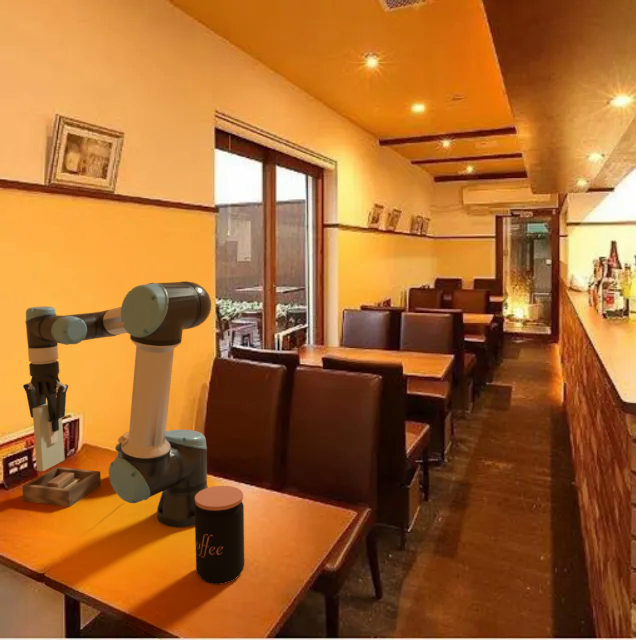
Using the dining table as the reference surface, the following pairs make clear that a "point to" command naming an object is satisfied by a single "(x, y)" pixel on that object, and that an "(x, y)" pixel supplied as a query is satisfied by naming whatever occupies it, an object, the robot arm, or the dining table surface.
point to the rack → (60, 496)
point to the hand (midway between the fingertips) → (49, 441)
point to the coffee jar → (219, 533)
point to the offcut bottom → (73, 483)
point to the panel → (46, 440)
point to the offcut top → (61, 480)
